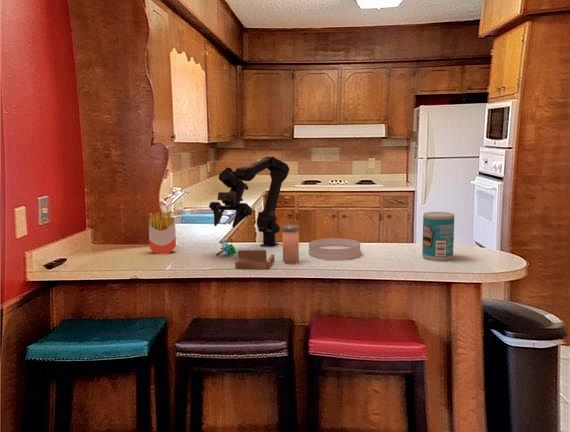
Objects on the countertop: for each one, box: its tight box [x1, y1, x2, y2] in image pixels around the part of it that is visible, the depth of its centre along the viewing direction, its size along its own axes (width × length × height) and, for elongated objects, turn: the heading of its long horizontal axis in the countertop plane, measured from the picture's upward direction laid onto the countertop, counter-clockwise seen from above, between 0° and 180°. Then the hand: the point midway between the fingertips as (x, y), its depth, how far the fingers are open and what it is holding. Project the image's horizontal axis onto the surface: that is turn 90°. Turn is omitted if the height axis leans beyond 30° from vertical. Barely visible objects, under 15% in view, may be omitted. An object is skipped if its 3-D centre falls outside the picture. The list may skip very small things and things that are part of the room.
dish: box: [308, 237, 362, 261], centre depth 221 cm, size 22×22×5 cm
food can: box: [421, 211, 455, 262], centre depth 210 cm, size 12×12×18 cm
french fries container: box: [148, 211, 177, 255], centre depth 229 cm, size 5×11×18 cm, turn 94°
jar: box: [281, 224, 300, 264], centre depth 209 cm, size 7×7×14 cm
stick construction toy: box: [216, 239, 237, 258], centre depth 224 cm, size 12×7×8 cm
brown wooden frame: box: [234, 249, 275, 270], centre depth 206 cm, size 13×13×7 cm
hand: (223, 226), depth 214 cm, fingers open, 9 cm apart
